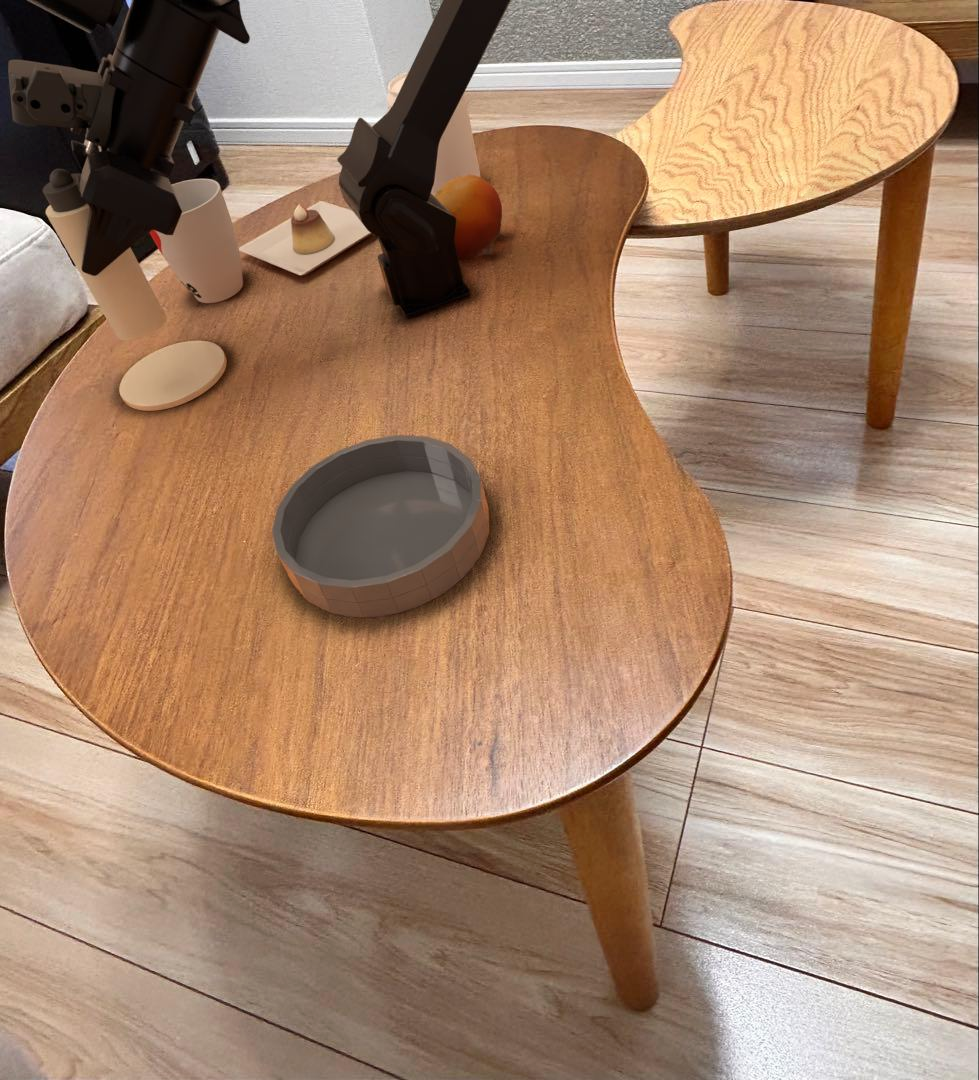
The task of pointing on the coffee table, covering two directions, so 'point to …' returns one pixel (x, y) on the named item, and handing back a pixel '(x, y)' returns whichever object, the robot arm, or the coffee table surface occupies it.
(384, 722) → the coffee table surface
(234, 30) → the robot arm
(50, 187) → the pepper mill
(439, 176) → the beverage can
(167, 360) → the tile coaster
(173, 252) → the cup
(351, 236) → the dessert
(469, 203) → the fruit
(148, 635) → the coffee table surface
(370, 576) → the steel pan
